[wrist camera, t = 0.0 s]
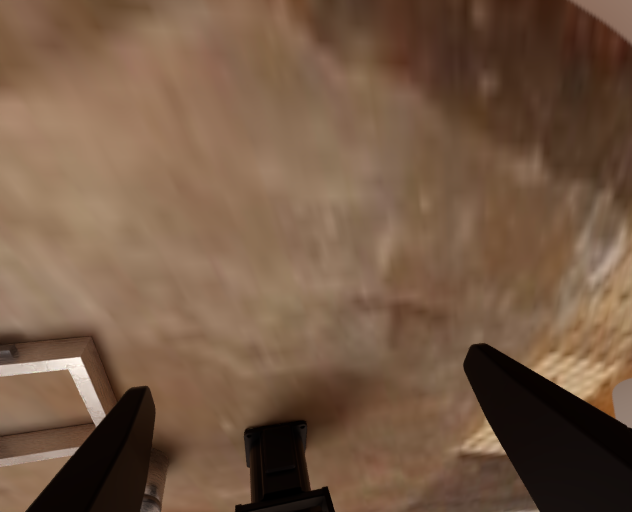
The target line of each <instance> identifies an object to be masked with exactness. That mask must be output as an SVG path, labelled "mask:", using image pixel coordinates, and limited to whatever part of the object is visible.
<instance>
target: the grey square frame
mask: <svg viewBox="0 0 632 512" xmlns="http://www.w3.org/2000/svg"><path fill="white" fill-rule="evenodd" d="M64 369H69V371H70V373H71V375H72V378H73V380H74V382H75V384H76V386H77V388H78V390H79V392H80V394H81V397H82V399H83V401H84V403H85V405H86V407H87V409H88V411H89V413H90V415H91V418H92V420H93V422H94V423H93V424H86V425H79V426H72V427H65V428H58V429H51V430H44V431H37V432H30V433H23V434H16V435H9V436H2V437H0V467H3V466H9V465H15V464H22V463H28V462H34V461H40V460H46V459H53V458H59V457H65V456H71V455H73V454H74V453H75V452H76V451H77V449H78V448H79V447H80V446H81V445H82V444H83V442H84V441H85V440H86V439H87V438H88V436H89V435H90V434H91V433H92V432H93V430H94V429H95V428H96V427H97V426H98V425H99V423H100V422H101V421H102V420H103V419H104V417H105V416H106V415H107V414H108V413H109V411H110V410H111V409H112V408H113V407H114V406H115V404H116V403H117V401H116V398H115V396H114V393H113V390H112V388H111V385H110V383H109V380H108V378H107V375H106V373H105V370H104V368H103V365H102V363H101V360H100V357H99V355H98V352H97V350H96V347H95V345H94V342H93V340H92V337H91V336H90V337H79V338H68V339H58V340H47V341H37V342H26V343H16V344H5V345H0V377H1V376H10V375H19V374H28V373H37V372H46V371H55V370H64Z"/></svg>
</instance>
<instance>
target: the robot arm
mask: <svg viewBox="0 0 632 512" xmlns="http://www.w3.org/2000/svg"><path fill="white" fill-rule="evenodd" d="M463 367H464V371H465V373H466V376H467V378H468V380H469V382H470V384H471V386H472V389H473V391H474V393H475V395H476V397H477V399H478V402H479V404H480V406H481V408H482V410H483V412H484V414H485V416H486V418H487V420H488V422H489V424H490V426H491V428H492V429H493V431H494V433H495V435H496V436H497V438H498V440H499V442H500V443H501V445H502V447H503V449H504V450H505V452H506V454H507V455H508V457H509V459H510V461H511V462H512V464H513V466H514V468H515V469H516V471H517V473H518V475H519V476H520V478H521V480H522V482H523V483H524V485H525V487H526V488H527V490H528V492H529V494H530V495H531V497H532V499H533V501H534V502H535V504H536V506H537V508H538V509H539V511H540V512H632V428H628V427H627V426H626V425H625V424H623V423H621V422H620V421H618V420H616V419H614V418H613V417H611V416H609V415H608V414H606V413H604V412H603V411H601V410H599V409H597V408H596V407H594V406H592V405H591V404H589V403H587V402H585V401H584V400H582V399H580V398H579V397H577V396H575V395H573V394H572V393H570V392H568V391H567V390H565V389H563V388H561V387H560V386H558V385H556V384H555V383H553V382H551V381H549V380H548V379H546V378H544V377H543V376H541V375H539V374H538V373H536V372H534V371H532V370H531V369H529V368H527V367H526V366H524V365H522V364H520V363H519V362H517V361H515V360H514V359H512V358H510V357H508V356H507V355H505V354H503V353H502V352H500V351H498V350H496V349H495V348H493V347H491V346H490V345H488V344H485V343H479V344H473V345H471V346H470V348H469V350H468V353H467V355H466V358H465V360H464V363H463ZM154 422H155V404H154V401H153V398H152V395H151V391H150V388H149V387H148V386H139V387H132V388H130V389H128V390H127V391H126V392H125V394H124V395H123V396H122V397H121V398H120V400H119V401H118V402H117V403H116V404H115V406H114V407H113V408H112V409H111V410H110V411H109V413H108V414H107V415H106V416H105V417H104V419H103V420H102V421H101V422H100V423H99V425H98V426H97V427H96V428H95V429H94V430H93V432H92V433H91V434H90V435H89V436H88V438H87V439H86V440H85V441H84V442H83V444H82V445H81V446H80V447H79V448H78V449H77V451H76V452H75V453H74V454H73V455H72V457H71V458H70V459H69V460H68V461H67V463H66V464H65V465H64V466H63V467H62V468H61V470H60V471H59V472H58V473H57V474H56V476H55V477H54V478H53V479H52V480H51V482H50V483H49V484H48V485H47V486H46V487H45V489H44V490H43V491H42V492H41V493H40V495H39V496H38V497H37V498H36V499H35V501H34V502H33V503H32V504H31V505H30V506H29V508H28V509H27V510H26V511H25V512H140V510H141V506H142V502H143V498H144V493H145V488H146V484H147V477H148V470H149V462H150V454H151V446H152V438H153V430H154ZM306 434H307V424H306V421H298V422H292V423H286V424H280V425H273V426H267V427H261V428H255V429H249V430H246V431H245V432H244V440H245V451H246V462H247V467H248V468H250V484H251V503H250V504H245V505H241V504H239V505H235V512H335V510H334V507H333V503H332V500H331V496H330V493H329V490H328V486H326V487H322V489H317V490H312V491H311V488H310V482H309V476H308V470H307V465H306V459H305V448H306Z"/></svg>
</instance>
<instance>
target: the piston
mask: <svg viewBox="0 0 632 512" xmlns="http://www.w3.org/2000/svg"><path fill="white" fill-rule="evenodd" d="M168 463H169V461H168V458H167V456H166V455H165V454H164V453H162V452H161V451H159V450H156V449H152V448H151V454H150V462H149V470H148V477H147V484H146V488H145V493H144V498H143V502H142V506H141V510H140V512H161V508H162V499H163V493H164V487H165V481H166V475H167V469H168Z"/></svg>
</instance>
